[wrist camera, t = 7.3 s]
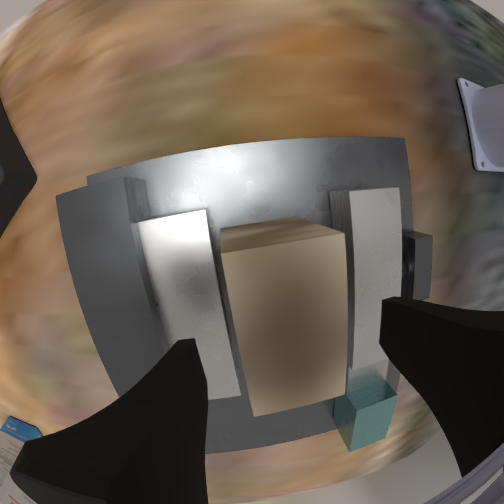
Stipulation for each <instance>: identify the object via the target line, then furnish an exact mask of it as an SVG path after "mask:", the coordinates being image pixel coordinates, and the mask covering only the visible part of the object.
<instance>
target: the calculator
mask: <svg viewBox="0 0 504 504" xmlns="http://www.w3.org/2000/svg"><path fill="white" fill-rule="evenodd" d="M36 181H37V175H36V173H35V171H34V169H33V167H32V165H31V164H30V162H29V160H28V158H27V156H26V154H25V152H24V150H23V148H22V146H21V144H20V142H19V140H18V138H17V136H16V135H15V134H14V133H13V132H12V130H11V127H10V125H9V122H8V120H7V117H6V114H5V111H4V108H3V106H2V103H1V100H0V237H1V236H2V234H3V232H4V230H5V229H6V227H7V225H8V224H9V222H10V220H11V219H12V217H13V216H14V214H15V212H16V211H17V209H18V208H19V206H20V205H21V203H22V202H23V200H24V199H25V198H26V196H27V195H28V193H29V192H30V191H31V189H32V188H33V186H34V185H35V183H36Z"/></svg>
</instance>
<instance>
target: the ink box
mask: <svg viewBox="0 0 504 504" xmlns="http://www.w3.org/2000/svg"><path fill="white" fill-rule="evenodd" d="M40 437H43V436H42V435H41V433H40V431H39V430H38V429H37V428H36V427H34V426H31V425H29V424H26V423H24V422H22V421H19V420H17V419H15V418H13V417H11V416H9V417H8V419H7V420H6V422H5V423H4V425H3V426H2V428H1V429H0V504H37V503H36V502H34V501H33V500H32V499H31V498H30V497H28V496H27V495H26V494H25V493H24V492H23V491H22V490H21V489H20V488H18V486H17V485H16V484H15V483H14V482H13V480H12V478H11V476H10V474H9V472H10V470H11V468H12V466H13V464H14V462H15V460H16V458H17V456H18V454H19V452H20V450H21V449H22V447H23V445H24V443H25V442H26V441H28V440H33V439H36V438H40Z"/></svg>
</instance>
